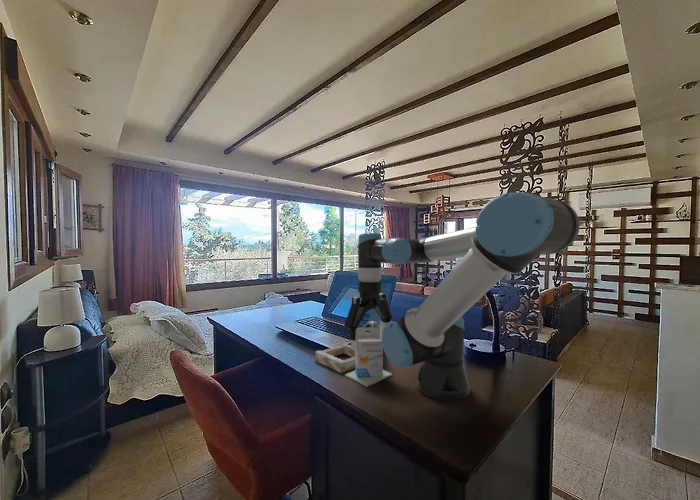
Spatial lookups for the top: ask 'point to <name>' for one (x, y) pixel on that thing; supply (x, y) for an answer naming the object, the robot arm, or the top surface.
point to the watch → (370, 326)
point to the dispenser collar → (333, 362)
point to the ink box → (369, 354)
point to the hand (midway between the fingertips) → (369, 345)
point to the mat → (367, 378)
